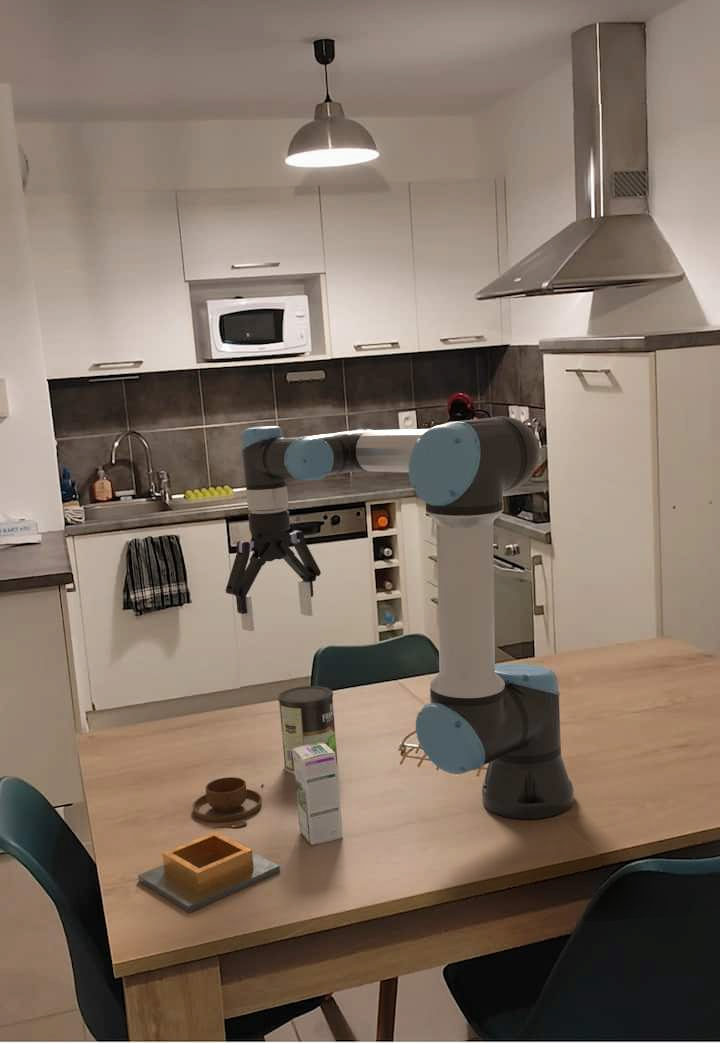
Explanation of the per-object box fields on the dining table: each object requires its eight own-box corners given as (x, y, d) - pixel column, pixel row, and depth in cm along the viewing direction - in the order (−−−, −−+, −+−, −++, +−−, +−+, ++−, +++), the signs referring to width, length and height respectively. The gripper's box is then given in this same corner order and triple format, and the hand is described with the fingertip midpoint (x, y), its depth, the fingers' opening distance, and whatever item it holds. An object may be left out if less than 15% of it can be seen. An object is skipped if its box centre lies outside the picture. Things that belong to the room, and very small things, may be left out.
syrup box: (344, 838, 169) (337, 751, 167) (309, 846, 167) (302, 758, 165) (332, 824, 175) (325, 740, 173) (297, 832, 173) (291, 747, 171)
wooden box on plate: (280, 871, 160) (278, 846, 159) (189, 913, 149) (186, 886, 149) (227, 844, 170) (225, 820, 169) (138, 881, 160) (136, 856, 159)
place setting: (198, 793, 193) (195, 762, 192) (308, 784, 194) (306, 753, 193) (188, 835, 176) (185, 802, 175) (309, 825, 177) (306, 791, 176)
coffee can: (343, 755, 205) (338, 685, 203) (331, 776, 195) (325, 702, 193) (291, 755, 207) (286, 685, 205) (277, 775, 198) (271, 702, 195)
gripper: (309, 500, 207) (317, 606, 210) (199, 519, 192) (210, 633, 195) (333, 502, 202) (341, 611, 205) (223, 521, 186) (234, 639, 189)
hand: (278, 622), depth 200 cm, fingers open, 13 cm apart
